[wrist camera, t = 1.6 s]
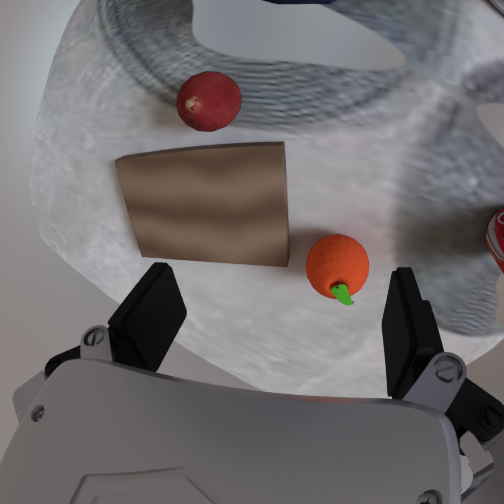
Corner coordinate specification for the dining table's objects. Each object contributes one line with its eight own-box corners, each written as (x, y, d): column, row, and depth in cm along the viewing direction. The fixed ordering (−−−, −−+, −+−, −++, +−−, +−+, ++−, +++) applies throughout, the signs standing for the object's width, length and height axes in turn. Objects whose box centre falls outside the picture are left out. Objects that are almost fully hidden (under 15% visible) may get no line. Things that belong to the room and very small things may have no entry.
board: (124, 155, 32) (114, 160, 31) (284, 141, 27) (281, 145, 26) (149, 249, 40) (142, 256, 38) (289, 257, 35) (287, 266, 33)
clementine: (377, 267, 33) (384, 307, 27) (327, 286, 36) (325, 327, 30) (351, 213, 30) (356, 248, 24) (297, 237, 33) (289, 275, 28)
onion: (233, 134, 28) (203, 153, 22) (188, 110, 28) (147, 122, 21) (260, 87, 25) (237, 89, 18) (211, 63, 24) (173, 60, 18)
